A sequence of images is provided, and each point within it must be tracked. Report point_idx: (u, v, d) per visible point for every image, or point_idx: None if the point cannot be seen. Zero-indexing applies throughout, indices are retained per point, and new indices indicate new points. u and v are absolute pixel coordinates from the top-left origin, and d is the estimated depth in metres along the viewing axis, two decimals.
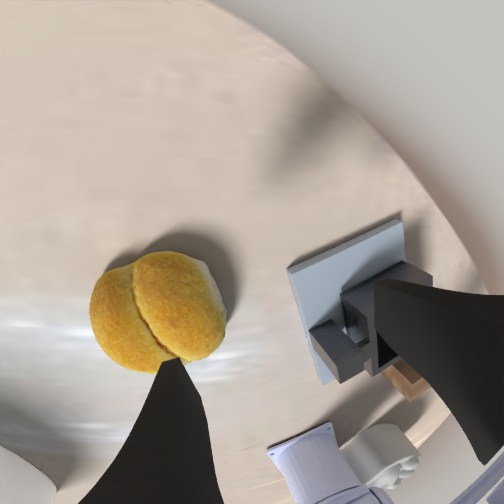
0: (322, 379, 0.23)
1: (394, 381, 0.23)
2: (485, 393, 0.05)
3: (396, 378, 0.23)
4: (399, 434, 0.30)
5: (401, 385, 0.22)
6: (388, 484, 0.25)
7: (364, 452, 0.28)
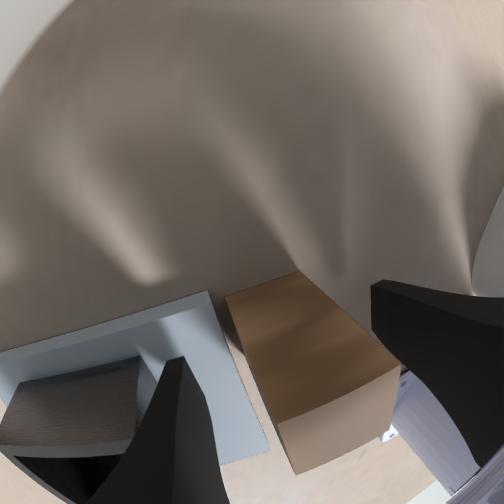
0: (257, 453, 0.13)
1: None
2: (482, 396, 0.05)
3: None
4: None
5: None
6: None
7: None
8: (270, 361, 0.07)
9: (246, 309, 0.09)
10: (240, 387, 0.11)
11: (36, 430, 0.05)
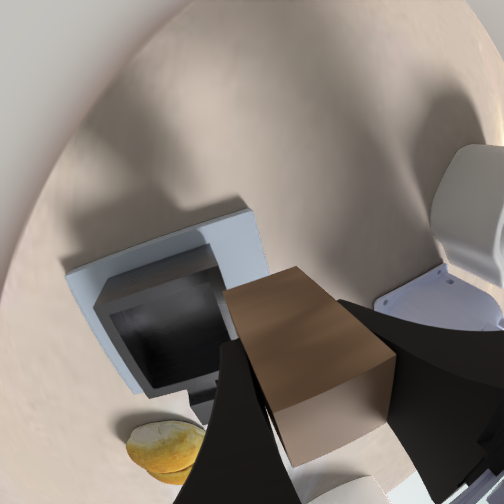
0: None
1: None
2: (433, 439, 0.04)
3: None
4: (468, 171, 0.18)
5: None
6: None
7: (458, 247, 0.19)
8: (267, 352, 0.07)
9: (243, 303, 0.09)
10: (268, 275, 0.18)
11: (138, 286, 0.12)
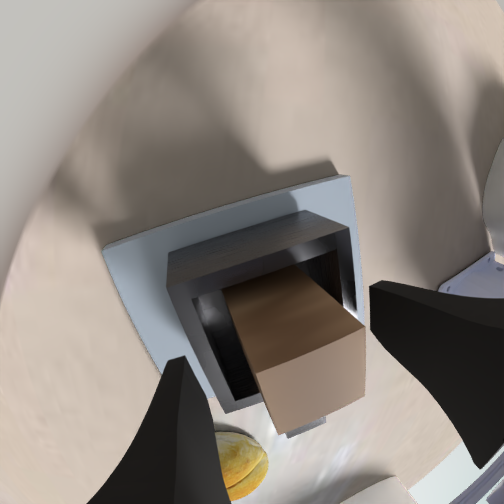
0: None
1: None
2: (481, 397, 0.05)
3: None
4: None
5: None
6: None
7: None
8: (253, 326, 0.08)
9: (235, 287, 0.11)
10: (358, 253, 0.15)
11: (236, 255, 0.09)
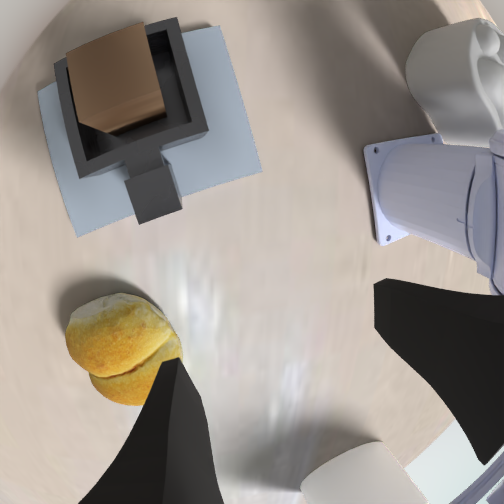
0: (249, 174, 0.17)
1: (147, 111, 0.10)
2: (485, 393, 0.05)
3: (128, 116, 0.10)
4: (434, 36, 0.15)
5: (131, 110, 0.09)
6: None
7: (442, 102, 0.16)
8: None
9: None
10: (234, 81, 0.15)
11: None
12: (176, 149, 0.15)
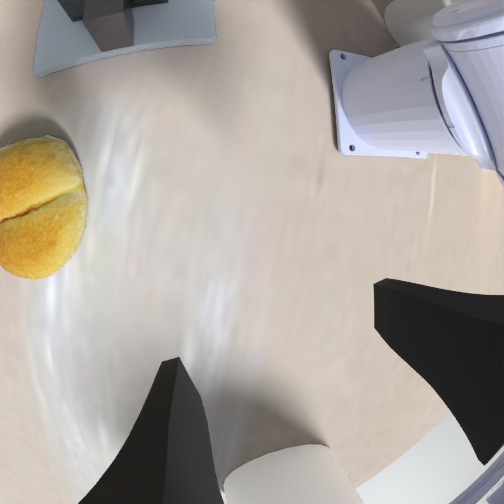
0: (203, 37, 0.13)
1: None
2: (485, 393, 0.05)
3: None
4: None
5: None
6: None
7: (418, 33, 0.14)
8: None
9: None
10: None
11: None
12: (143, 10, 0.12)
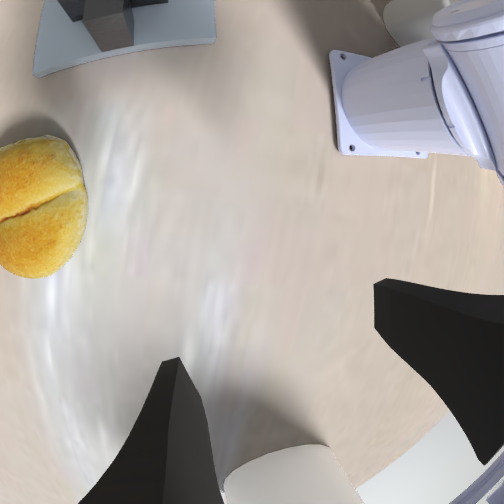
0: (203, 37, 0.13)
1: None
2: (485, 393, 0.05)
3: None
4: None
5: None
6: None
7: (416, 33, 0.14)
8: None
9: None
10: None
11: None
12: (143, 10, 0.12)
